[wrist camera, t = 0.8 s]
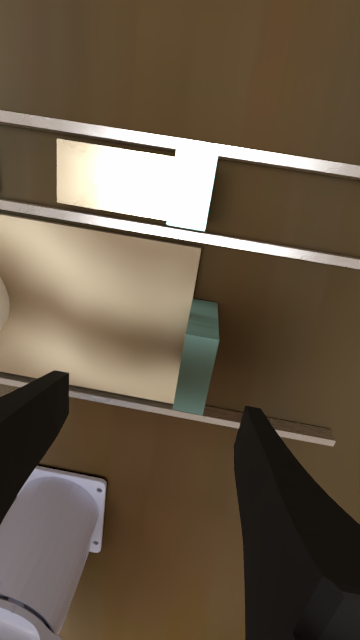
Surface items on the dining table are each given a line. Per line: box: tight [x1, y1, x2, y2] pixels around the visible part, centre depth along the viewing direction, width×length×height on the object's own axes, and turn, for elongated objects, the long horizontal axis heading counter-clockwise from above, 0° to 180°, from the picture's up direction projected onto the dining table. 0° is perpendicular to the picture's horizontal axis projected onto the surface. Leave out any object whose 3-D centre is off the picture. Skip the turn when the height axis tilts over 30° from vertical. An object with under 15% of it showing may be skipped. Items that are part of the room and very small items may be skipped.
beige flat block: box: [0, 213, 219, 415], centre depth 18 cm, size 11×23×6 cm, turn 81°
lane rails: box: [0, 110, 360, 446], centre depth 17 cm, size 17×34×6 cm, turn 81°
